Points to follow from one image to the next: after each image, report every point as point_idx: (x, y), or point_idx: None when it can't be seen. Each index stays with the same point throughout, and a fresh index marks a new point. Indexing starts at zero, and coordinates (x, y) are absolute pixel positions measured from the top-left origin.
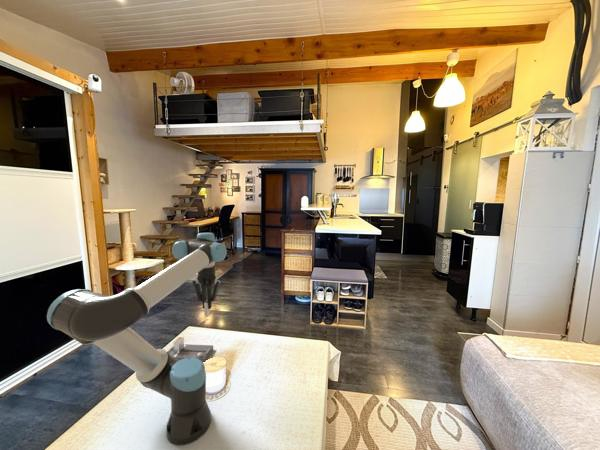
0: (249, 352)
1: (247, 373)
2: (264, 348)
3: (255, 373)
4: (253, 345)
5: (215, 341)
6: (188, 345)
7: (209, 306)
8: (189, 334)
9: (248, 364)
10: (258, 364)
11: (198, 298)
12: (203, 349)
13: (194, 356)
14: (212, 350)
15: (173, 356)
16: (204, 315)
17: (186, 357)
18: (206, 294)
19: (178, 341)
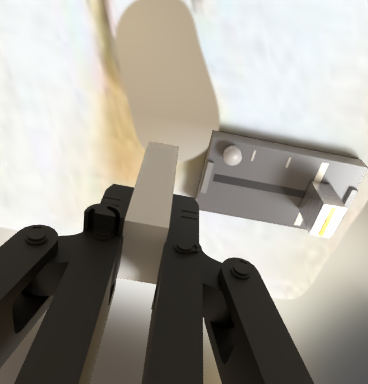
0: (61, 169)
1: (36, 49)
2: (12, 184)
3: (5, 45)
4: (57, 205)
5: None
6: (284, 220)
7: (115, 201)
8: (291, 287)
9: (47, 102)
10: (9, 97)
11: (255, 288)
12: (225, 191)
13: (251, 155)
14: (196, 195)
15: (329, 165)
16: (177, 150)
17: (280, 153)
18: (145, 356)
19: (326, 210)
